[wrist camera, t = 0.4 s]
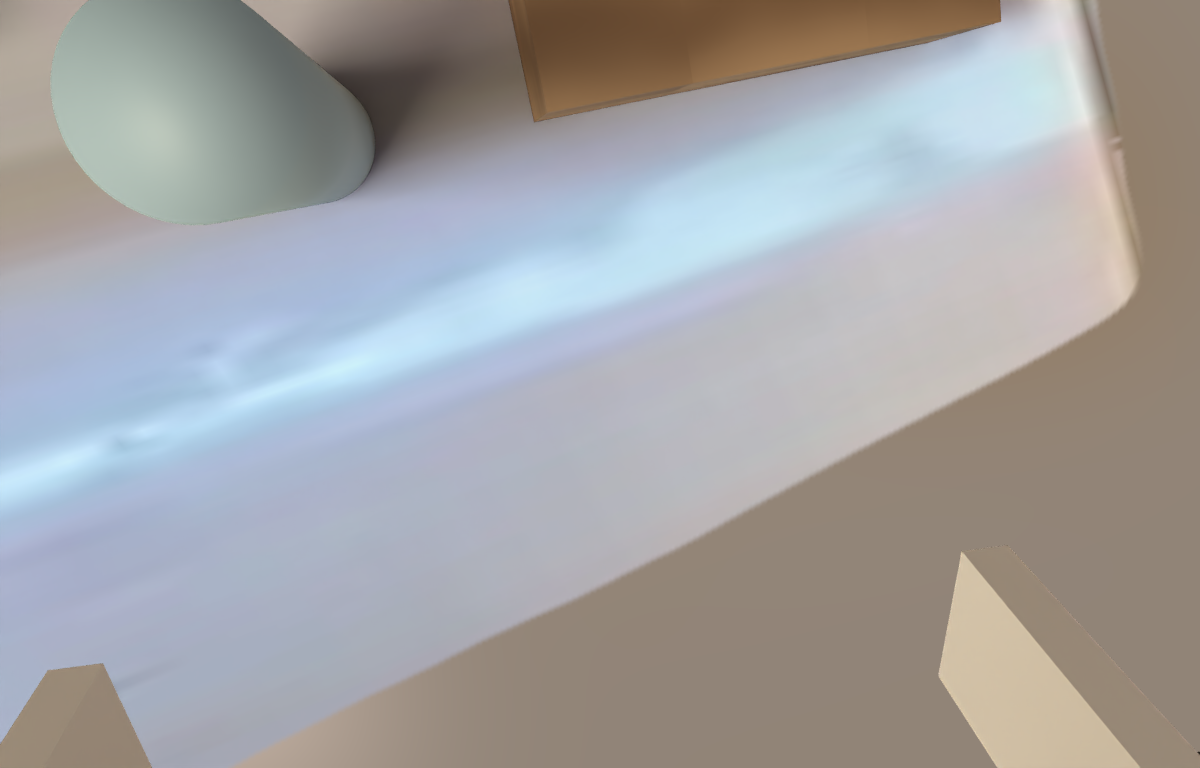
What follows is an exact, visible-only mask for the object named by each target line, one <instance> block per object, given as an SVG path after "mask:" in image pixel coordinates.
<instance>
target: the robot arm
mask: <svg viewBox="0 0 1200 768" xmlns="http://www.w3.org/2000/svg"><path fill="white" fill-rule="evenodd" d="M939 678H940V679H941V681H942V682H943V684H944V686H945V687H946V689H947V690H948V692H949V693H950V695H951V696H952V698H953V700H954V701H955V703H956V704H957V706H958V707H959V709H960V710H961V712H962V714H963V715H964V717H965V718H966V719H967V721H968V723H969V724H970V726H971V727H972V729H973V731H974V732H975V734H976V735H977V737H978V738H979V740H980V741H981V743H982V745H983V746H984V748H985V749H986V751H987V752H988V754H989V755H990V757H991V759H992V760H993V762H994V763H995V765H996V766H997V768H1200V752H1196V751H1195V750H1194V748H1193V747H1192V746H1191V745H1190V744H1189V743H1188V742H1187V741H1186V740H1185V739H1184V738H1183V737H1182V735H1181V734H1180V733H1179V732H1178V731H1177V730H1176V729H1175V728H1174V727H1173V725H1172V724H1171V723H1170V722H1169V721H1168V720H1167V719H1166V718H1165V717H1164V716H1163V715H1162V714H1161V712H1160V711H1159V710H1158V709H1157V708H1156V707H1155V706H1154V705H1153V704H1152V703H1151V701H1150V700H1149V699H1148V698H1147V697H1146V696H1145V695H1144V694H1143V693H1142V692H1141V691H1140V689H1139V688H1138V687H1137V686H1136V685H1135V684H1134V683H1133V682H1132V681H1131V680H1130V679H1129V677H1128V676H1127V675H1126V674H1125V673H1124V672H1123V671H1122V670H1121V669H1120V668H1119V667H1118V665H1117V664H1116V663H1115V662H1114V661H1113V660H1112V659H1111V658H1110V657H1109V656H1108V655H1107V653H1106V652H1105V651H1104V650H1103V649H1102V648H1101V647H1100V646H1099V645H1098V644H1097V642H1096V641H1095V640H1094V639H1093V638H1092V637H1091V636H1090V635H1089V634H1088V633H1087V632H1086V631H1085V630H1084V628H1083V627H1082V626H1081V625H1080V624H1079V623H1078V622H1077V621H1076V620H1075V619H1074V617H1073V616H1072V615H1071V614H1070V613H1069V612H1068V611H1067V610H1066V609H1065V608H1064V606H1063V605H1062V604H1061V603H1060V602H1059V601H1058V600H1057V599H1056V598H1055V597H1054V596H1053V594H1051V592H1050V591H1049V590H1048V589H1047V588H1046V587H1045V586H1044V585H1043V584H1042V582H1041V581H1040V580H1039V579H1038V578H1037V577H1036V576H1035V575H1034V574H1033V573H1032V572H1031V570H1030V569H1029V568H1028V567H1027V566H1026V565H1025V564H1024V563H1023V562H1022V561H1021V560H1020V558H1019V557H1018V556H1017V555H1016V554H1015V553H1014V552H1013V551H1012V550H1011V549H1010V548H1009V546H1008V545H1005V546H998V547H991V548H983V549H975V550H967V551H962V552H961V558H960V563H959V569H958V574H957V579H956V584H955V590H954V595H953V600H952V606H951V612H950V617H949V622H948V628H947V633H946V638H945V643H944V649H943V654H942V660H941V665H940V670H939ZM0 768H152V766H151V764H150V762H149V760H148V758H147V756H146V754H145V752H144V750H143V747H142V745H141V743H140V741H139V739H138V737H137V735H136V733H135V730H134V728H133V726H132V724H131V722H130V720H129V718H128V716H127V714H126V711H125V709H124V707H123V705H122V703H121V701H120V699H119V697H118V695H117V692H116V690H115V688H114V686H113V684H112V682H111V680H110V678H109V675H108V673H107V671H106V669H105V667H104V665H103V663H102V664H94V665H86V666H79V667H71V668H63V669H56V670H48V671H47V673H46V674H45V676H44V677H43V679H42V680H41V682H40V683H39V685H38V686H37V688H36V690H35V691H34V693H33V694H32V696H31V697H30V699H29V700H28V702H27V704H26V705H25V707H24V708H23V710H22V711H21V713H20V714H19V716H18V718H17V719H16V721H15V722H14V724H13V725H12V727H11V728H10V730H9V731H8V733H7V735H6V736H5V738H4V739H3V741H2V742H1V744H0Z"/></svg>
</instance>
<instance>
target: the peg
mask: <svg viewBox="0 0 1200 768" xmlns="http://www.w3.org/2000/svg"><path fill="white" fill-rule="evenodd" d="M51 98H52V104H53V110H54V114H55V117H56V121H57V124H58V127H59V130H60V132H61V134H62V137H63V139H64V141H65V143H66V145H67V147H68V149H69V150H70V152H71V154H72V155H73V157H74V159H75V160H76V161H77V163H78V164H79V165H80V167H81V168H82V169H83V170H84V172H85V173H86V174H87V175H88V176H89V177H90V178H91V179H92V180H93V181H94V182H95V183H96V184H97V185H98V186H99V187H100V188H101V189H102V190H104V191H105V192H106V193H107V194H109V195H110V196H111V197H112V198H114V199H116V200H117V201H119V202H120V203H122V204H123V205H125V206H127V207H129V208H131V209H133V210H135V211H137V212H139V213H141V214H143V215H146V216H149V217H152V218H154V219H157V220H161V221H166V222H170V223H175V224H184V225H208V224H215V223H222V222H227V221H233V220H238V219H243V218H249V217H254V216H260V215H265V214H270V213H276V212H281V211H287V210H292V209H297V208H303V207H308V206H313V205H319V204H324V203H329V202H333V201H337V200H339V199H341V198H344V197H346V196H347V195H349V194H351V193H352V192H353V191H354V190H356V189H357V188H358V187H359V186H360V185H361V184H362V182H363V181H364V180H365V178H366V177H367V175H368V173H369V171H370V169H371V166H372V164H373V160H374V155H375V135H374V130H373V126H372V123H371V120H370V118H369V116H368V114H367V112H366V110H365V109H364V107H363V106H362V104H361V103H360V102H359V100H358V99H357V98H356V97H355V96H354V95H353V94H352V93H351V92H350V91H349V90H347V89H346V88H345V87H344V86H343V85H342V84H340V83H339V82H338V81H337V80H336V79H334V78H333V77H332V76H331V75H330V74H328V73H327V72H326V71H325V70H324V69H323V68H321V67H320V66H319V65H318V64H317V63H315V62H314V61H313V60H312V59H311V58H310V57H308V56H307V55H306V54H305V53H304V52H302V51H301V50H300V49H299V48H298V47H296V46H295V45H294V44H293V43H292V42H291V41H289V40H288V39H287V38H286V37H285V36H283V35H282V34H281V33H280V32H279V31H278V30H276V29H275V28H274V27H273V26H272V25H270V24H269V23H268V22H267V21H266V20H264V19H263V18H262V17H261V16H260V15H259V14H257V13H256V12H255V11H254V10H252V9H251V8H250V7H248V6H247V5H246V4H244V3H243V2H242V1H241V0H89V1H88V2H86V3H85V4H84V5H83V6H82V7H81V8H80V9H79V10H78V11H77V12H76V13H75V15H74V16H73V17H72V18H71V20H70V21H69V23H68V24H67V26H66V28H65V29H64V31H63V33H62V35H61V37H60V40H59V42H58V44H57V47H56V50H55V54H54V58H53V62H52V70H51Z"/></svg>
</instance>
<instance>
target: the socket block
mask: <svg viewBox="0 0 1200 768" xmlns="http://www.w3.org/2000/svg"><path fill="white" fill-rule="evenodd" d="M509 5H510V10H511V14H512V19H513V24H514V29H515V33H516V38H517V43H518V48H519V52H520V57H521V62H522V66H523V71H524V76H525V81H526V85H527V90H528V95H529V100H530V104H531V109H532V114H533V118H534V122H537V121H542V120H547V119H552V118H557V117H562V116H567V115H572V114H577V113H582V112H587V111H592V110H597V109H601V108H606V107H611V106H616V105H621V104H626V103H631V102H636V101H641V100H646V99H651V98H656V97H661V96H666V95H671V94H676V93H681V92H686V91H691V90H696V89H701V88H706V87H711V86H716V85H721V84H726V83H730V82H735V81H740V80H745V79H750V78H755V77H760V76H765V75H770V74H775V73H780V72H785V71H790V70H795V69H800V68H805V67H810V66H815V65H820V64H825V63H830V62H835V61H840V60H845V59H850V58H855V57H859V56H864V55H869V54H874V53H879V52H884V51H889V50H894V49H899V48H904V47H909V46H914V45H919V44H924V43H929V42H932V41H935V40H939V39H942V38H946V37H949V36H953V35H956V34H960V33H963V32H967V31H970V30H974V29H977V28H981V27H984V26H987V25H991V24H994V23H998V22H1001V11H1000V0H509Z"/></svg>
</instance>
